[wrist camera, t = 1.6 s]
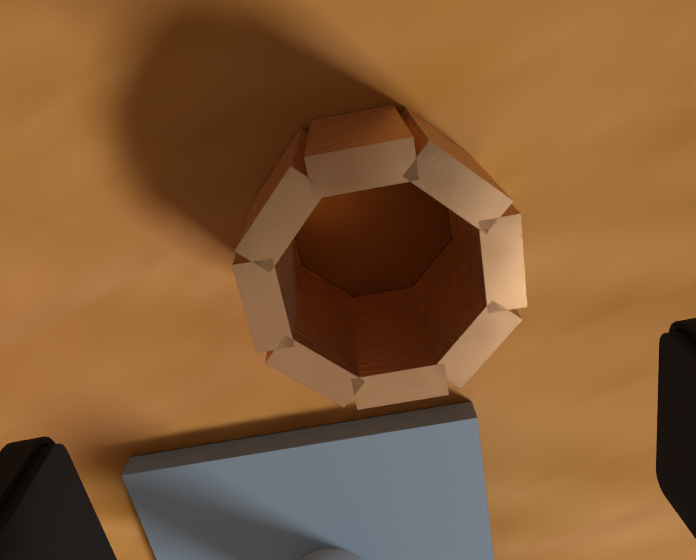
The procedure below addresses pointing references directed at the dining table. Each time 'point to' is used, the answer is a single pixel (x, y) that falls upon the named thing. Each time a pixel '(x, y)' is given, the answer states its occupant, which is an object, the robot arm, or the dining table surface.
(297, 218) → the ring
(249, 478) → the piston stand
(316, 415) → the dining table surface
